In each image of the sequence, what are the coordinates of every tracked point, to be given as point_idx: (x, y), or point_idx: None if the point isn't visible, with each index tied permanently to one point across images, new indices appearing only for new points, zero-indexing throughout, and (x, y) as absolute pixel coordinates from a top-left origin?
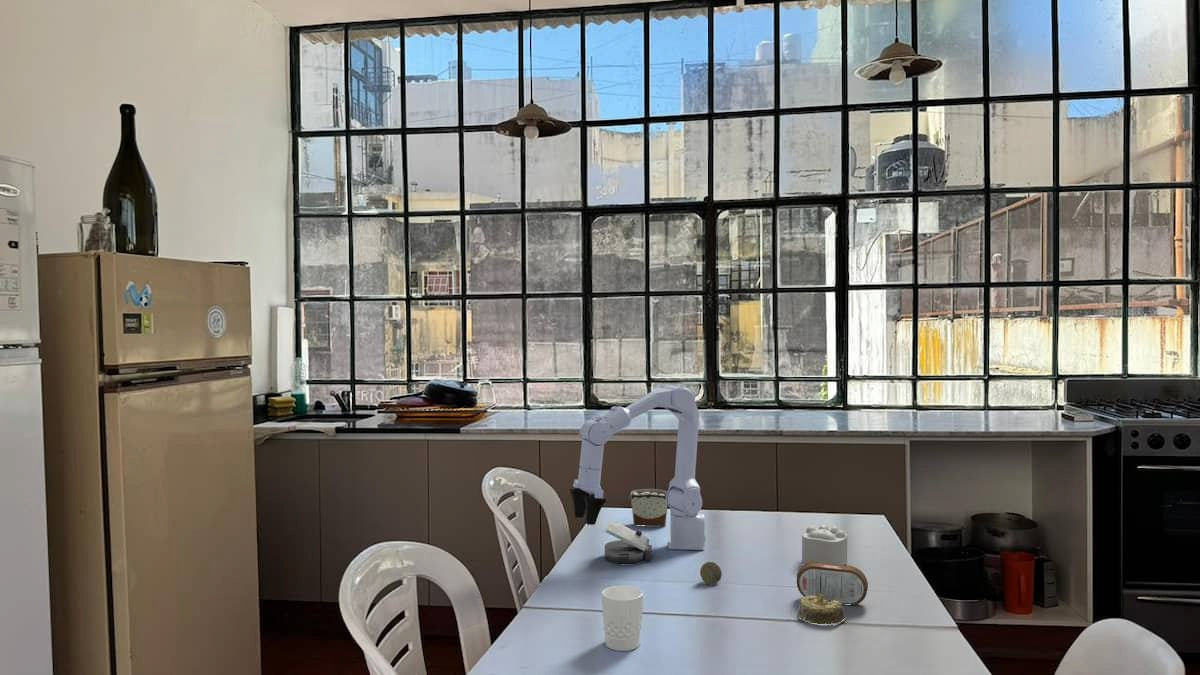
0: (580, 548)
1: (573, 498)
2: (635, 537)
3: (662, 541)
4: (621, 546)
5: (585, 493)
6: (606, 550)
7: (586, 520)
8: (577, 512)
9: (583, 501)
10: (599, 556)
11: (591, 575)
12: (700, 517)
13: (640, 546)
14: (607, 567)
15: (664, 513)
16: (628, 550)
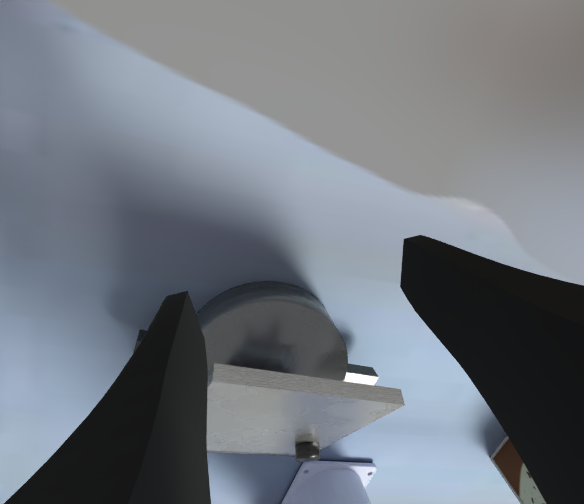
0: (420, 216)
1: (566, 303)
2: (257, 439)
3: (382, 447)
4: (267, 364)
5: (564, 465)
6: (250, 305)
7: (173, 307)
8: (426, 267)
9: (491, 373)
10: (305, 267)
11: (52, 193)
12: None
13: None
14: (162, 275)
15: (520, 492)
16: None
